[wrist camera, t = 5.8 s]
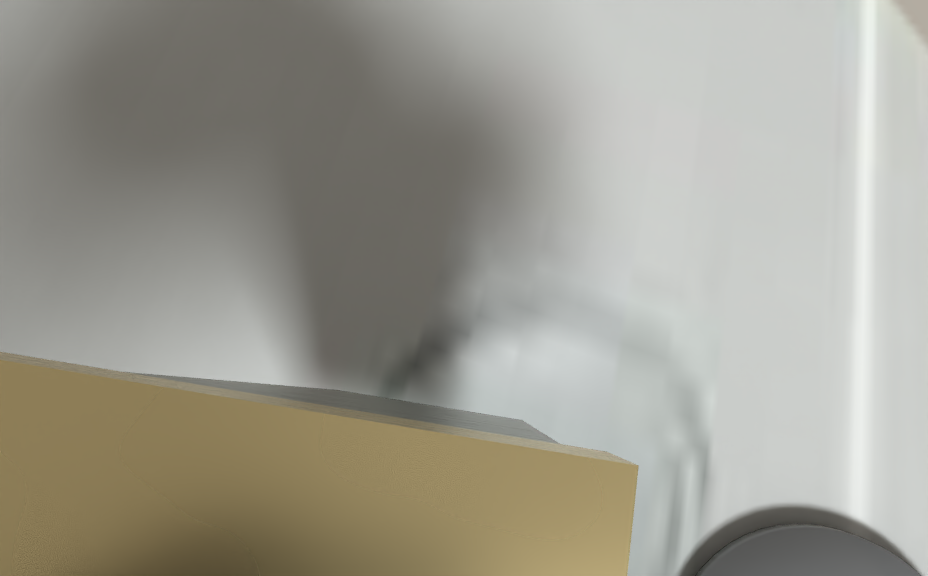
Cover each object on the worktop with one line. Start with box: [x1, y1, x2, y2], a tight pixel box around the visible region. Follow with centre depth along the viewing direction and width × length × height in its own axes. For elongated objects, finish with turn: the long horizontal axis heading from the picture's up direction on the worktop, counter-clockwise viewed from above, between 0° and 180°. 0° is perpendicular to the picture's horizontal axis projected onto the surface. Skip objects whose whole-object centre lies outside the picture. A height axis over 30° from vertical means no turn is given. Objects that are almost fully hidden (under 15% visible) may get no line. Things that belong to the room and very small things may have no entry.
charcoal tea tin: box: [0, 352, 638, 576], centre depth 9 cm, size 5×5×13 cm
